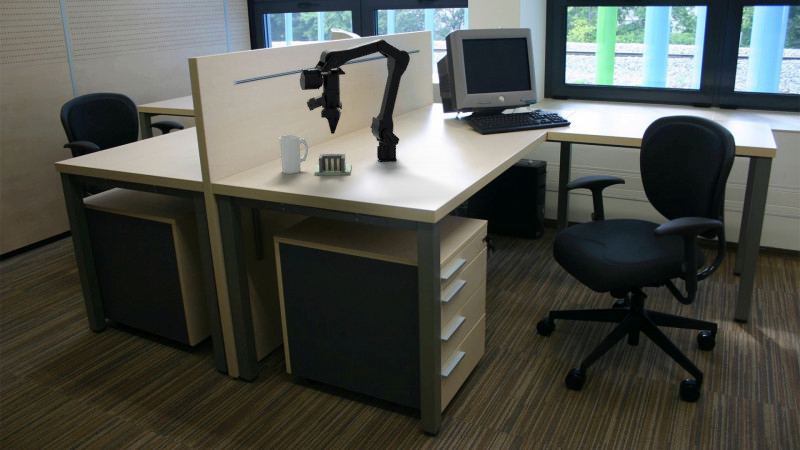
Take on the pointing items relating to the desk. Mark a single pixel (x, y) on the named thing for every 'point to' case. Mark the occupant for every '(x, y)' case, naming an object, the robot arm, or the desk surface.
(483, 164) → the desk surface
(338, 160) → the board
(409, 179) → the desk surface
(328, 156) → the grey c-shaped bracket
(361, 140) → the desk surface
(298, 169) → the mug
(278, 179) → the desk surface
